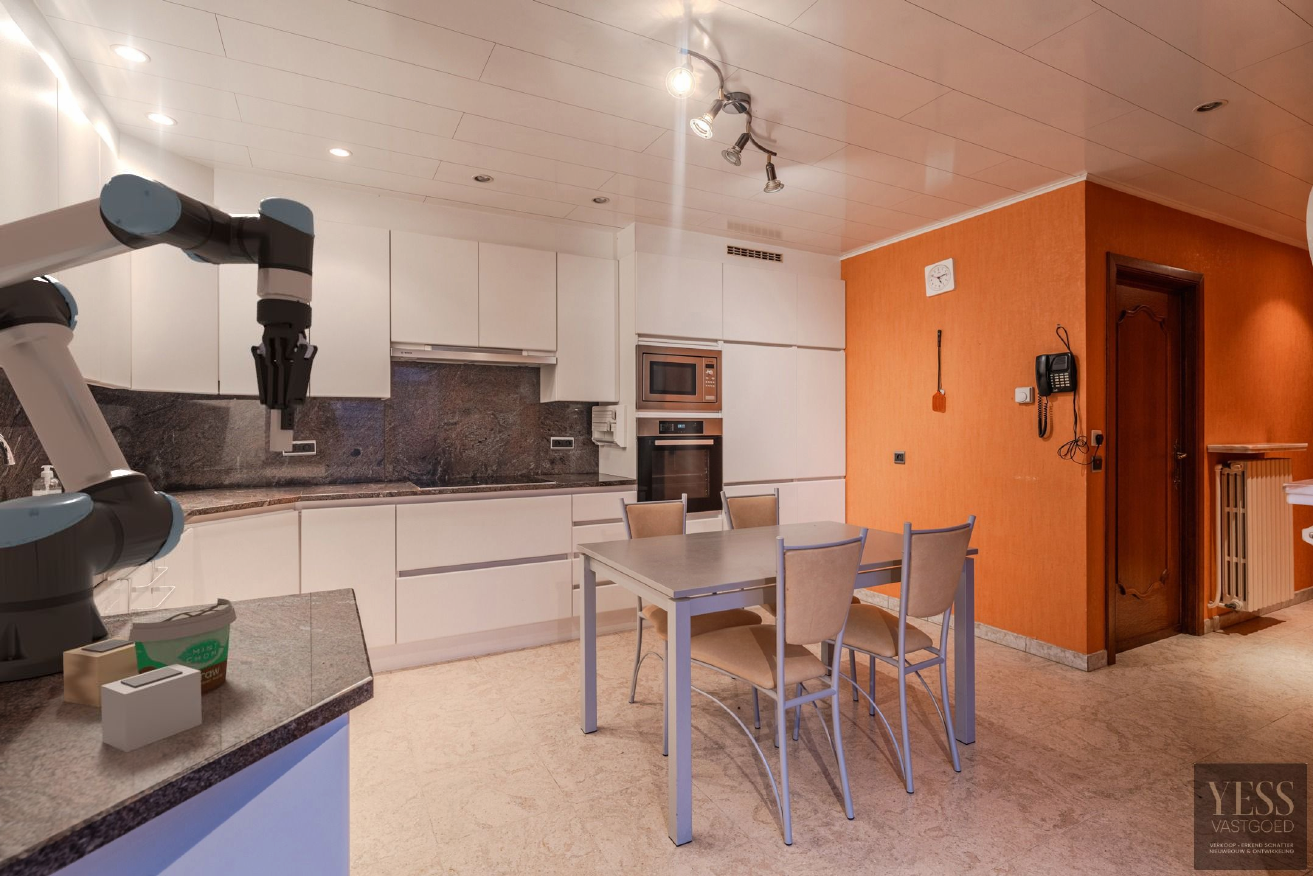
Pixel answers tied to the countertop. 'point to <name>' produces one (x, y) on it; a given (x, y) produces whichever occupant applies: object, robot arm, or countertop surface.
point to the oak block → (97, 669)
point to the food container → (188, 643)
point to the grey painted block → (150, 706)
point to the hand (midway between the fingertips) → (281, 450)
